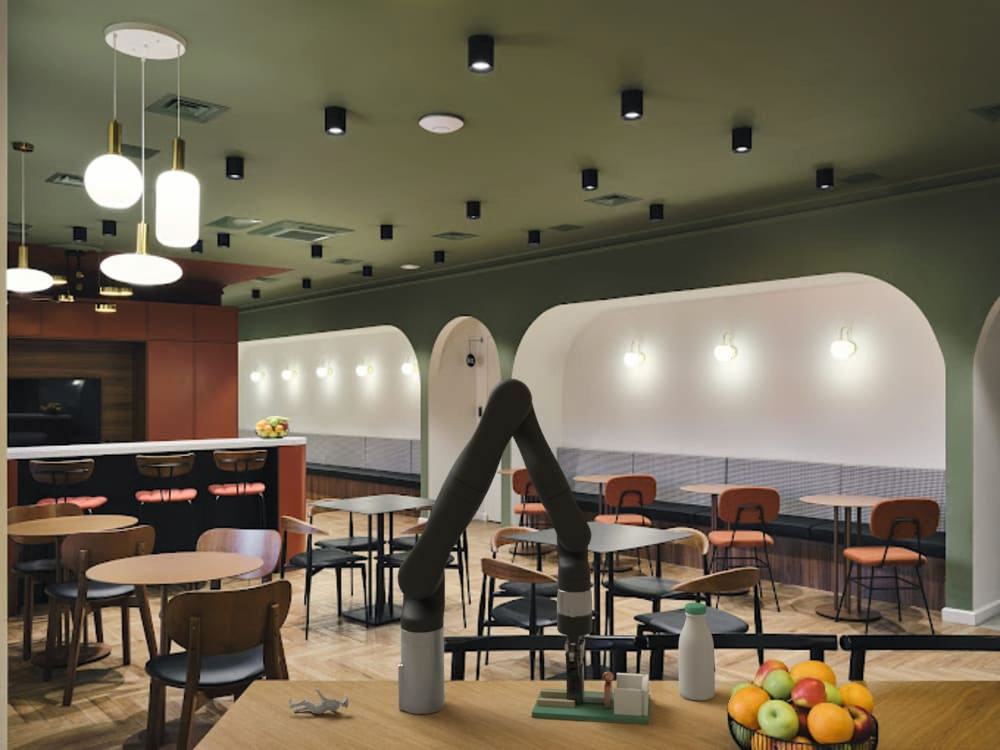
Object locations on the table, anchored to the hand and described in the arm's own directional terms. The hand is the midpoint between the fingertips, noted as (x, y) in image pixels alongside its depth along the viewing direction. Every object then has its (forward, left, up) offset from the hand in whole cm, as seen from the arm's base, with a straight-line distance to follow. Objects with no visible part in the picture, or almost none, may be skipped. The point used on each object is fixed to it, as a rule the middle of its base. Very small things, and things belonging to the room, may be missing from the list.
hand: (575, 689), depth 187 cm
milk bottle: (+26, +11, -4) cm, 28 cm away
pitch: (+4, 0, -4) cm, 5 cm away
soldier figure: (-53, -12, -4) cm, 55 cm away
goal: (+12, 0, -3) cm, 12 cm away
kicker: (+3, 0, -2) cm, 4 cm away
